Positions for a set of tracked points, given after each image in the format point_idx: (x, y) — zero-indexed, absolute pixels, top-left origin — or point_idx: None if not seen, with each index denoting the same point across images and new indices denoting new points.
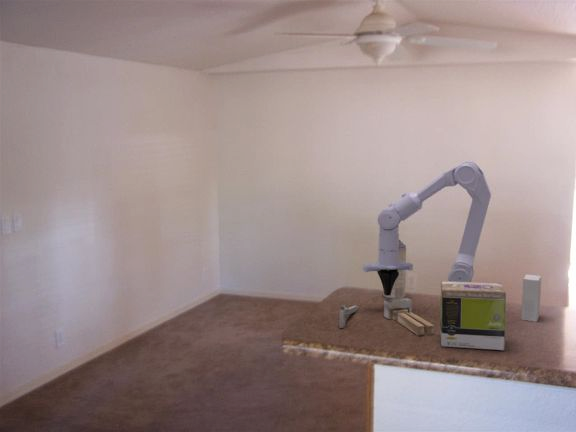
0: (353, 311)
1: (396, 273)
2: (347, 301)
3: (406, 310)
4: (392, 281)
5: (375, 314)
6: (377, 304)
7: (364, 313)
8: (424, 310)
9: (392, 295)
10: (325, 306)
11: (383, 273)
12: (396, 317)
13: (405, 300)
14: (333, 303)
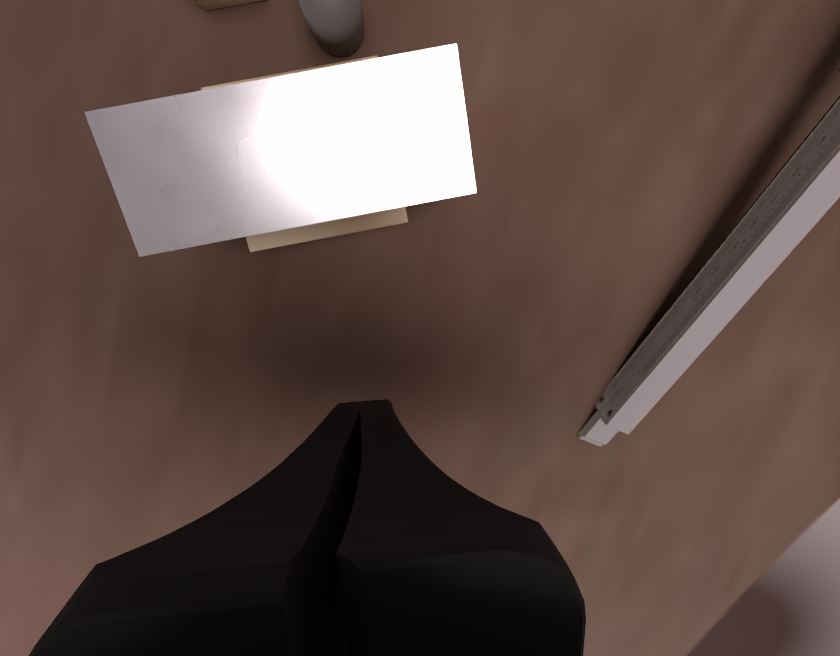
0: (702, 274)
1: (116, 605)
2: (597, 584)
3: (219, 86)
4: (287, 491)
5: (498, 266)
6: None
7: (578, 302)
8: (28, 337)
9: None
10: (788, 489)
11: (515, 639)
12: (362, 15)
13: (183, 118)
14: (707, 548)
